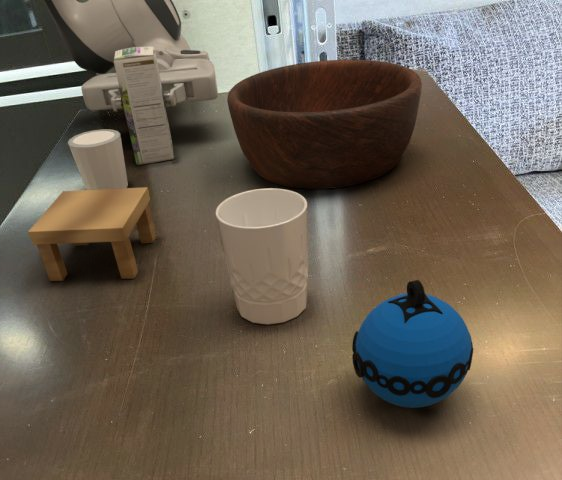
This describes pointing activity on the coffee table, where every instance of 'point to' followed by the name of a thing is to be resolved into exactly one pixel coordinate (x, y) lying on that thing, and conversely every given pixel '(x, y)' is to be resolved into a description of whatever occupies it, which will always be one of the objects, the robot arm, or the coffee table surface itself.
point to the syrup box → (144, 104)
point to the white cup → (266, 252)
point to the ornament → (412, 349)
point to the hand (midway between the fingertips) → (143, 103)
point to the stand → (94, 226)
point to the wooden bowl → (325, 121)
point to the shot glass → (100, 159)
